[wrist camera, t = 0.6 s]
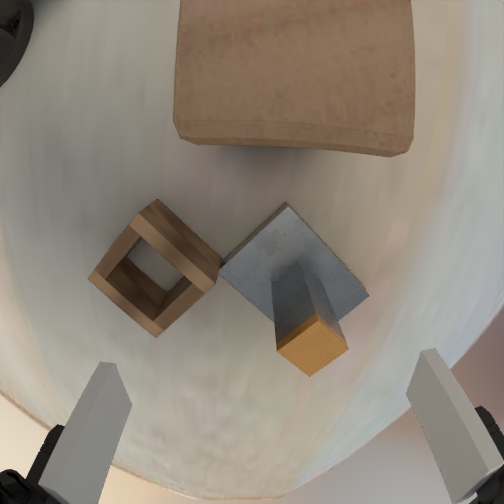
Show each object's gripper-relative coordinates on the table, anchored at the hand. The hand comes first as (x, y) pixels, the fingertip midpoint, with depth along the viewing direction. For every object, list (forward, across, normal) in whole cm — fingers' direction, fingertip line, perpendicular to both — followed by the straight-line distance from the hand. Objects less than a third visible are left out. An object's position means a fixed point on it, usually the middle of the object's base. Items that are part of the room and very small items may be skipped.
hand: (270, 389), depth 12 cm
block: (+23, +2, +14) cm, 27 cm away
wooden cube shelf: (+22, -11, -3) cm, 25 cm away
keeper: (+22, +4, -6) cm, 23 cm away
